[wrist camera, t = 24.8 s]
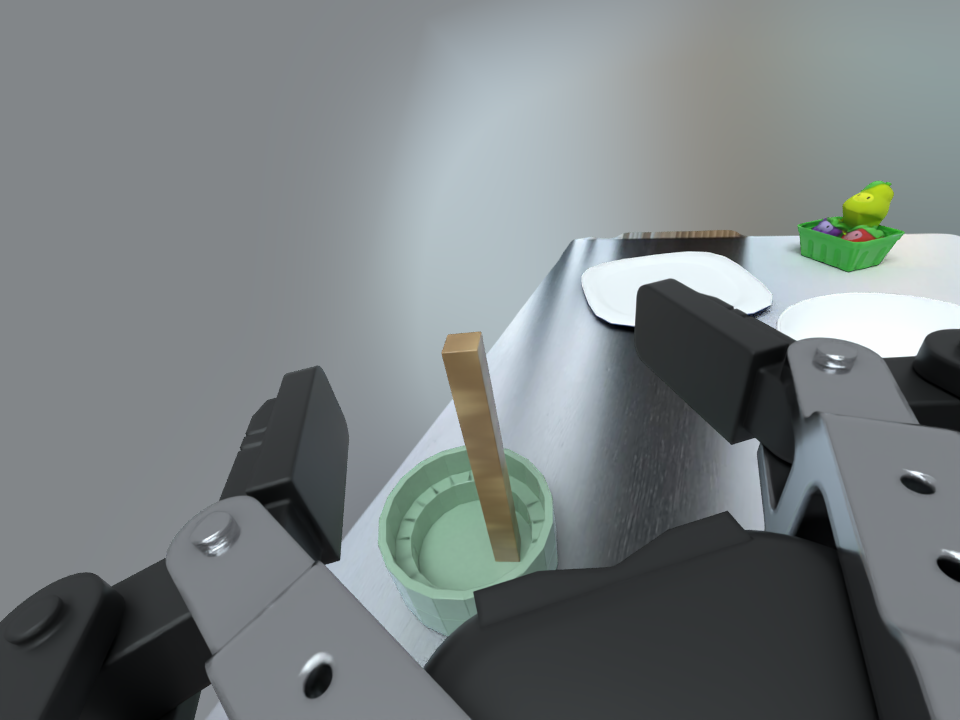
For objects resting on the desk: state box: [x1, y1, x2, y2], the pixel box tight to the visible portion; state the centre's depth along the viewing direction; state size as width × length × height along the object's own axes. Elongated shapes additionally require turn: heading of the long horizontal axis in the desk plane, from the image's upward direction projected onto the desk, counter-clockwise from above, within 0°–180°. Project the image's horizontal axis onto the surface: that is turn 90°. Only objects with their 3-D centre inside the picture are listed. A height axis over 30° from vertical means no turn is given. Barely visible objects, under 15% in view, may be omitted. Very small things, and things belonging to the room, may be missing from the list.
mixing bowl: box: [378, 446, 558, 636], centre depth 33 cm, size 13×13×6 cm
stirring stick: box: [442, 332, 521, 562], centre depth 28 cm, size 2×2×20 cm
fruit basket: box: [798, 181, 905, 272], centre depth 63 cm, size 11×9×11 cm
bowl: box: [776, 292, 960, 358], centre depth 39 cm, size 18×18×7 cm
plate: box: [582, 252, 773, 327], centre depth 66 cm, size 25×25×2 cm
